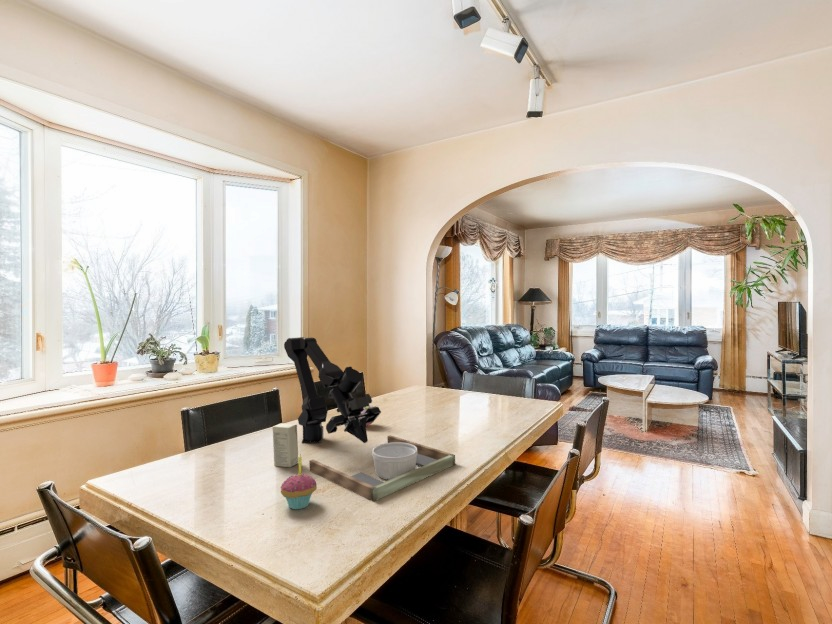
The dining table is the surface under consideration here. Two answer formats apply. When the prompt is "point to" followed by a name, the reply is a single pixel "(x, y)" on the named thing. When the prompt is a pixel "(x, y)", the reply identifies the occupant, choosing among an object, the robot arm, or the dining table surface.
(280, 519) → the dining table surface
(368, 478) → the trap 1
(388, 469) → the ramekin
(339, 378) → the robot arm
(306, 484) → the cupcake
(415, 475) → the wooden u-shaped frame
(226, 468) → the dining table surface
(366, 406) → the decorative fruit
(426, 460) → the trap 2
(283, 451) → the skincare box
